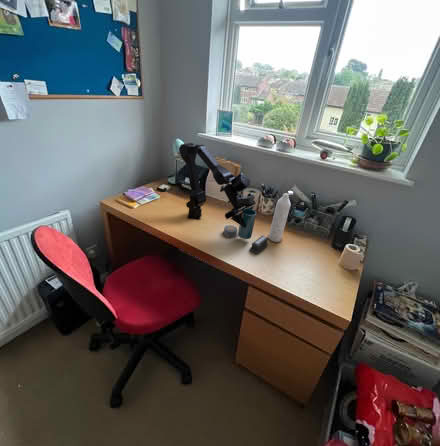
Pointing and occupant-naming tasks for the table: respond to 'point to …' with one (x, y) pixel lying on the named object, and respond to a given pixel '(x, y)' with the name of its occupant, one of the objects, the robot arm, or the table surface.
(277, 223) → the water bottle
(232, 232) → the tape roll
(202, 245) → the table surface
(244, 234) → the pen pot
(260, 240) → the stapler
